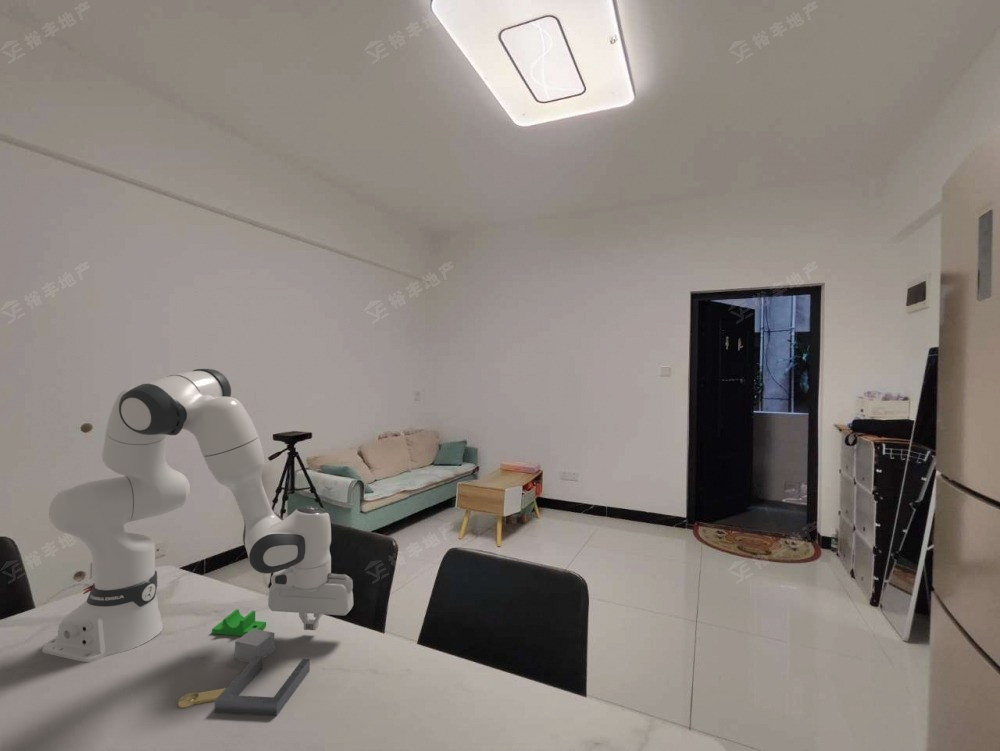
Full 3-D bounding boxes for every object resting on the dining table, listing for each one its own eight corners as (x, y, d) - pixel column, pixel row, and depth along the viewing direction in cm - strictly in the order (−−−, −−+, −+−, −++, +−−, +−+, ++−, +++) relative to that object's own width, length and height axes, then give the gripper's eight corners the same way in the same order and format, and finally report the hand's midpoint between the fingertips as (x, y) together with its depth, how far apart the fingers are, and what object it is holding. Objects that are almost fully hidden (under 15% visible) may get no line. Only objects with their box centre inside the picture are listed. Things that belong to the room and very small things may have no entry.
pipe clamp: (266, 611, 109) (254, 621, 105) (266, 626, 109) (254, 637, 105) (225, 608, 110) (211, 618, 106) (225, 623, 110) (211, 633, 106)
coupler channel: (214, 716, 81) (214, 700, 81) (255, 670, 93) (255, 656, 93) (276, 719, 80) (276, 703, 80) (309, 672, 93) (309, 658, 93)
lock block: (235, 661, 96) (235, 641, 96) (253, 647, 101) (253, 628, 101) (256, 666, 95) (257, 646, 95) (274, 652, 100) (274, 632, 100)
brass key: (175, 712, 82) (175, 706, 82) (182, 700, 85) (182, 694, 85) (222, 704, 84) (222, 697, 84) (227, 692, 87) (227, 686, 87)
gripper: (358, 568, 108) (357, 623, 108) (279, 564, 110) (279, 618, 110) (347, 581, 102) (346, 639, 102) (264, 576, 103) (264, 634, 103)
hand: (311, 628), depth 106 cm, fingers closed
